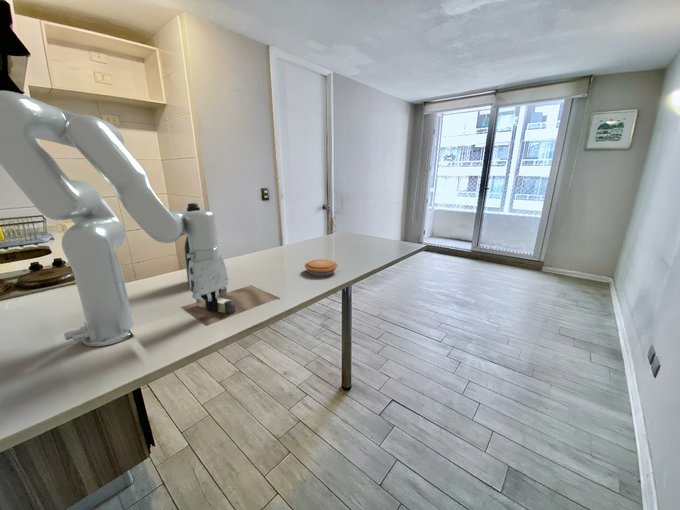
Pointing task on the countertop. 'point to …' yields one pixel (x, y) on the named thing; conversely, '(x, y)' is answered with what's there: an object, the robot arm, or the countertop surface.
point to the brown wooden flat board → (242, 297)
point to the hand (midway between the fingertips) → (212, 310)
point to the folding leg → (220, 305)
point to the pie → (321, 267)
